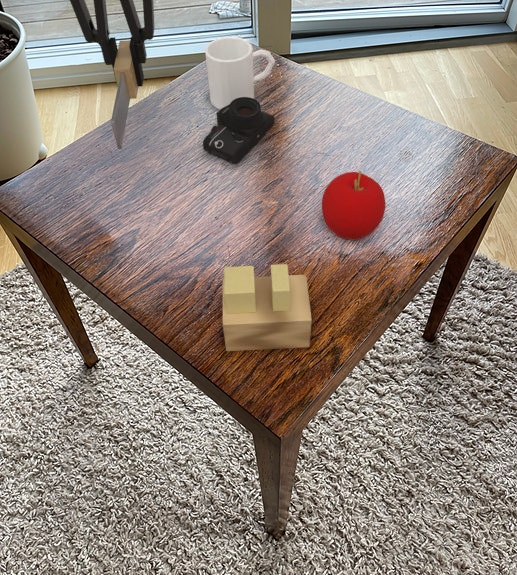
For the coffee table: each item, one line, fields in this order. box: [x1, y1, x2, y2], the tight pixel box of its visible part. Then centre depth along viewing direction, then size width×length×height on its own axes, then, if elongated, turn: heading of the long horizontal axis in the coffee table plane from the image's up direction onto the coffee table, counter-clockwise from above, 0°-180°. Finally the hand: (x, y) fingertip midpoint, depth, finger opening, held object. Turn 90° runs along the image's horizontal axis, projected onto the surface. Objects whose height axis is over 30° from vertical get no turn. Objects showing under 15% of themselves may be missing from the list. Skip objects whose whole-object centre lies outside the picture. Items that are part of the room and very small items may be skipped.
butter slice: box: [270, 263, 290, 311], centre depth 68 cm, size 2×4×4 cm, turn 2°
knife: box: [110, 39, 139, 150], centre depth 83 cm, size 20×2×5 cm, turn 2°
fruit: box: [321, 170, 386, 240], centre depth 81 cm, size 9×9×10 cm
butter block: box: [223, 265, 256, 314], centre depth 68 cm, size 4×4×4 cm
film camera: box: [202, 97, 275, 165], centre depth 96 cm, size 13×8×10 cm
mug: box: [204, 36, 276, 110], centre depth 102 cm, size 8×12×10 cm
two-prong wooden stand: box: [222, 274, 313, 352], centre depth 72 cm, size 10×7×6 cm, turn 92°
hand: (130, 81), depth 89 cm, fingers closed on knife, 2 cm apart
